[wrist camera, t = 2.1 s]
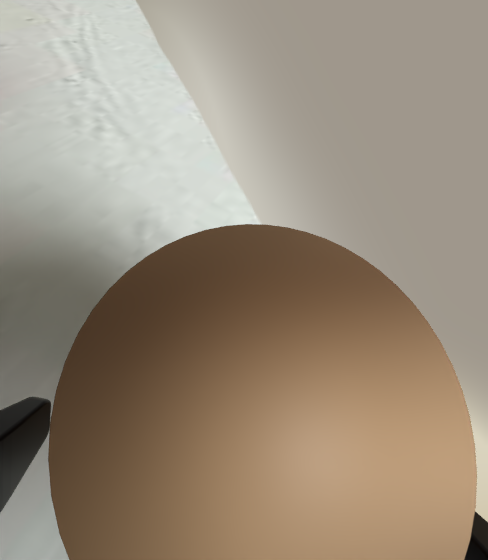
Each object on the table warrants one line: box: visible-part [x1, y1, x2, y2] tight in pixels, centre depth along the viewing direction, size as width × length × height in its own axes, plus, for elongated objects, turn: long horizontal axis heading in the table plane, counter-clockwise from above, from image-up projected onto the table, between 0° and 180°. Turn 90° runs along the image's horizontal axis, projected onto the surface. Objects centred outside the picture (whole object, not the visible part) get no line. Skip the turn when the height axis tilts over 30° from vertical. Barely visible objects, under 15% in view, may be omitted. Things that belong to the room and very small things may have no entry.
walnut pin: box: [48, 224, 477, 560], centre depth 10 cm, size 6×6×13 cm
